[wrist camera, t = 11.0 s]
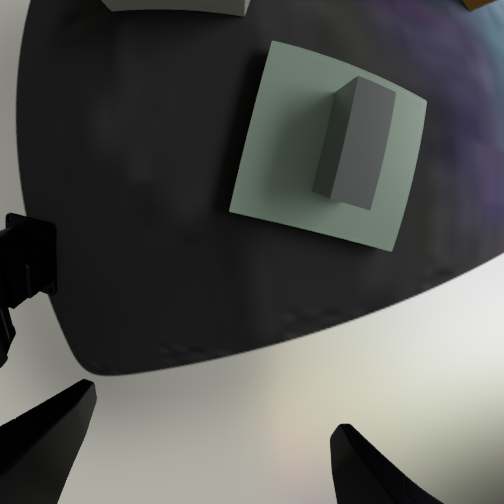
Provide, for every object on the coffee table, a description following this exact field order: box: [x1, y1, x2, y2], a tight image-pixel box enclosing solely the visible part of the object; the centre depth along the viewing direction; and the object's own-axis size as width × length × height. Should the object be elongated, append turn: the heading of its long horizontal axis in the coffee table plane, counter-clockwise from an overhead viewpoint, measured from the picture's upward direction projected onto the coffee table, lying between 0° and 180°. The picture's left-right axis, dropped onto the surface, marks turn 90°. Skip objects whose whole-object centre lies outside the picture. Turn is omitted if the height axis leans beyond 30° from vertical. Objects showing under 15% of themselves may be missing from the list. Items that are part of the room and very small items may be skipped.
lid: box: [229, 41, 427, 252], centre depth 16 cm, size 12×12×6 cm
